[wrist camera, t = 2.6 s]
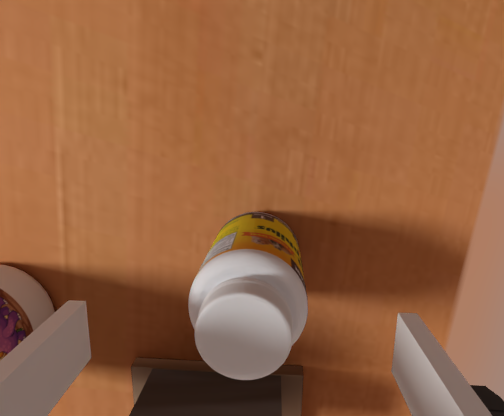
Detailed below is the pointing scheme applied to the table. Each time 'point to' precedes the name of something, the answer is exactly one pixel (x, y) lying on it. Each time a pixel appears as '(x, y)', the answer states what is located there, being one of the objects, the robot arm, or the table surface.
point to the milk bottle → (20, 307)
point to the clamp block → (212, 390)
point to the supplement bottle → (249, 297)
